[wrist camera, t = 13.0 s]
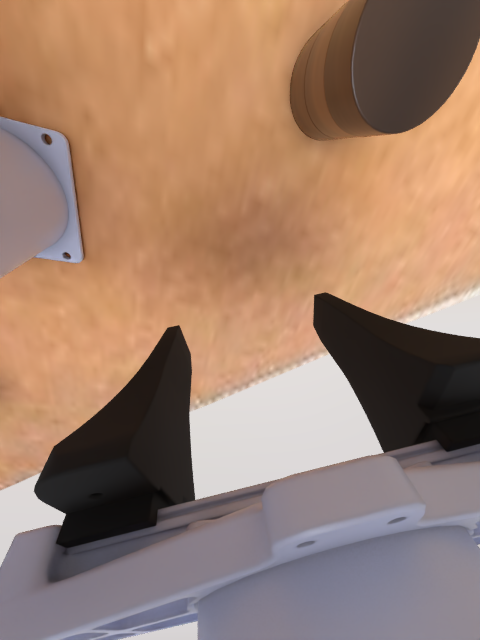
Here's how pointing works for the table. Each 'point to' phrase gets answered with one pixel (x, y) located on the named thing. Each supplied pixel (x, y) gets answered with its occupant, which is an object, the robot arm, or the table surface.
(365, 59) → the walnut chip
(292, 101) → the oak chip bottom
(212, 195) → the table surface
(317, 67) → the disc
